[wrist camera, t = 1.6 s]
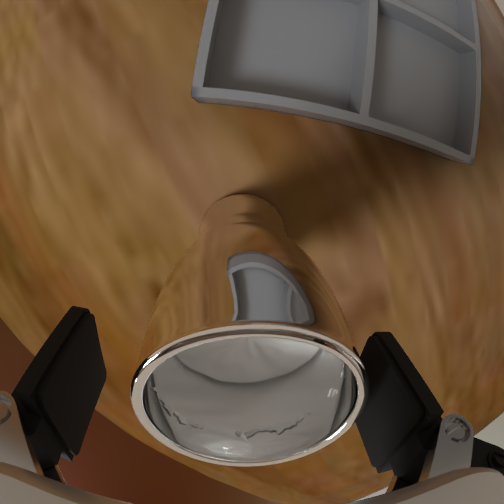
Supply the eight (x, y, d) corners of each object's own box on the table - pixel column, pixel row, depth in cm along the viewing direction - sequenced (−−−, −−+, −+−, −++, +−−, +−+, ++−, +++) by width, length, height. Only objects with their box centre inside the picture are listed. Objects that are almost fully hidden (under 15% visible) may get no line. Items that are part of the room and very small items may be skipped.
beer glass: (191, 187, 19) (88, 312, 5) (293, 187, 20) (410, 307, 6) (196, 279, 22) (154, 464, 8) (287, 278, 22) (344, 459, 8)
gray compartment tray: (451, -22, 11) (468, -30, 9) (450, 160, 19) (473, 165, 16) (242, -90, 10) (242, -109, 7) (197, 102, 17) (190, 96, 14)
